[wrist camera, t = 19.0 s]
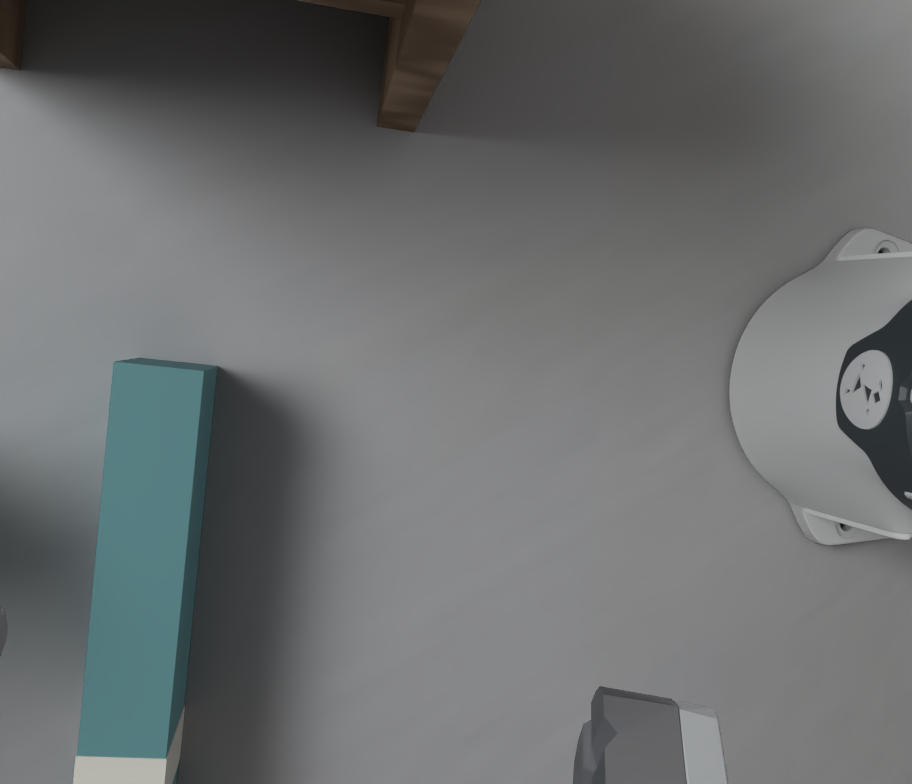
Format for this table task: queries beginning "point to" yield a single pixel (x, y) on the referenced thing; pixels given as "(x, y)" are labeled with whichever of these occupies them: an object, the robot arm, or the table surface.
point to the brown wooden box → (406, 56)
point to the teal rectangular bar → (145, 572)
